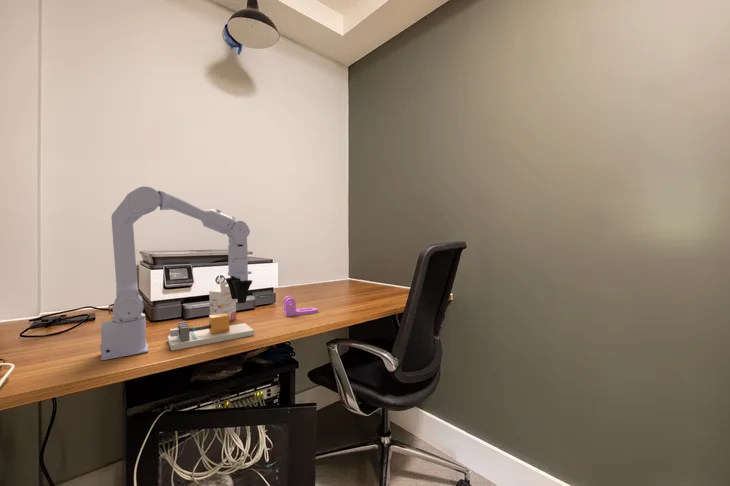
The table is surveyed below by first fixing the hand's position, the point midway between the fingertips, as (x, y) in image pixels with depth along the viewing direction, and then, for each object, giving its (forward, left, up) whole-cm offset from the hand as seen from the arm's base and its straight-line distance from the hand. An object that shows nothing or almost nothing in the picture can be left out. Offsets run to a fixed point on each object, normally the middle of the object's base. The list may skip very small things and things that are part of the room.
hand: (238, 300), depth 99 cm
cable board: (-8, -1, -10) cm, 13 cm away
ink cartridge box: (-1, +17, -10) cm, 20 cm away
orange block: (-6, -1, -8) cm, 10 cm away
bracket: (+27, +11, -10) cm, 31 cm away
